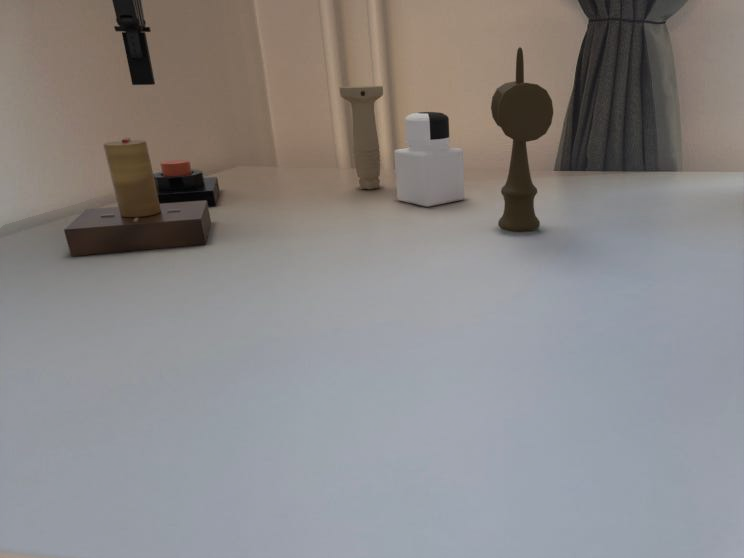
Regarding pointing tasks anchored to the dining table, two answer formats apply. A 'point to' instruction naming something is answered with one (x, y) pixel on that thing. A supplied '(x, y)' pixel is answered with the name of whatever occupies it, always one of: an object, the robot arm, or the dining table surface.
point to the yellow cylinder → (132, 177)
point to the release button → (176, 167)
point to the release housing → (187, 188)
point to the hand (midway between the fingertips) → (143, 84)
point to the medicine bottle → (429, 162)
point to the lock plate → (138, 229)
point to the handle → (365, 133)
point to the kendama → (520, 144)
